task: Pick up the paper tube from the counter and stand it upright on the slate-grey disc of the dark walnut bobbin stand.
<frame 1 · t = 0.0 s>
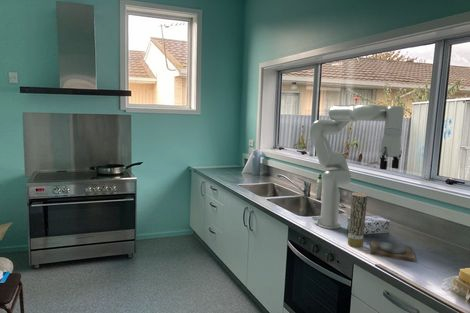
hand: (389, 168, 172), 37 cm above the worktop, tool pointing down, fingers open, 9 cm apart
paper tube: (354, 245, 173), on the worktop
bobbin stand: (391, 252, 166), on the worktop
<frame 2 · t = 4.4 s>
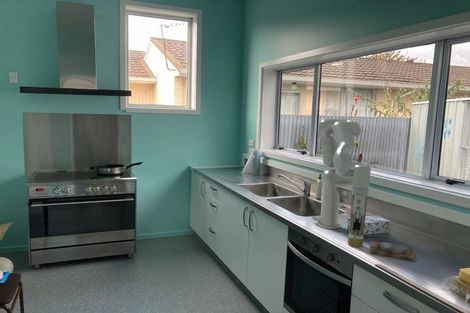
hand: (356, 227, 172), 9 cm above the worktop, tool pointing down, fingers closed on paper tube, 6 cm apart
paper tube: (354, 245, 173), on the worktop, touching gripper
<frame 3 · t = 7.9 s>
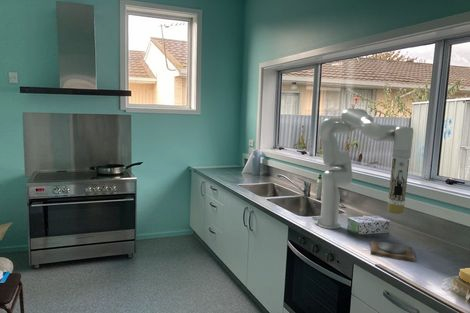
hand: (397, 193, 163), 28 cm above the worktop, tool pointing down, fingers closed on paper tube, 6 cm apart
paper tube: (395, 212, 164), point 19 cm above the worktop, touching gripper
when the fingers open (12 cm above the worktop, at t = 11.8 s): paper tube stays where it is, resting on bobbin stand.
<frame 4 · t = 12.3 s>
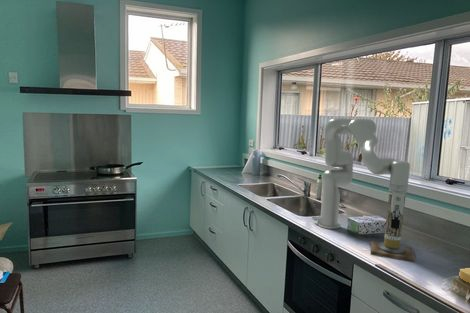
hand: (394, 225, 165), 13 cm above the worktop, tool pointing down, fingers open, 9 cm apart
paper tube: (391, 247, 166), point 2 cm above the worktop, touching bobbin stand
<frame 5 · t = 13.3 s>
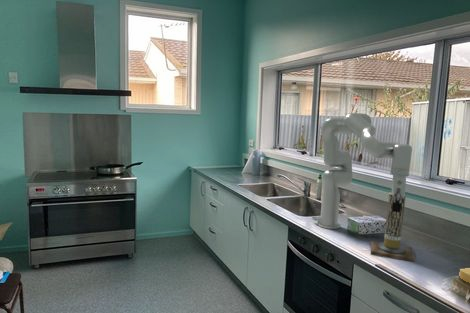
hand: (395, 208, 164), 20 cm above the worktop, tool pointing down, fingers open, 9 cm apart
nothing on the worktop moved.
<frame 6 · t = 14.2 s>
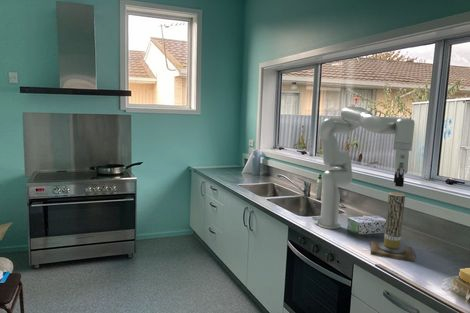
hand: (398, 184, 163), 32 cm above the worktop, tool pointing down, fingers open, 9 cm apart
nothing on the worktop moved.
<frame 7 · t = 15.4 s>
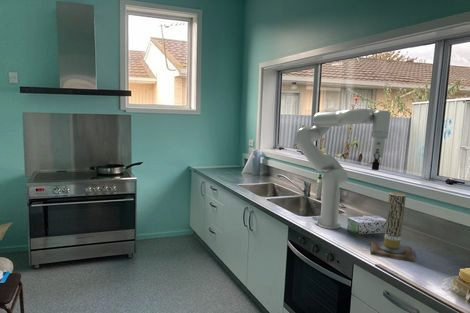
hand: (375, 168, 184), 35 cm above the worktop, tool pointing down, fingers open, 9 cm apart
nothing on the worktop moved.
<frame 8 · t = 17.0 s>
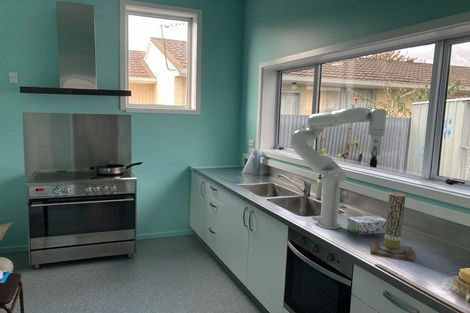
hand: (373, 166, 187), 36 cm above the worktop, tool pointing down, fingers open, 9 cm apart
nothing on the worktop moved.
at the end: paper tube 0.3 cm off-centre on the bobbin stand, point 2.3 cm above the bobbin stand's base; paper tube tilted 0°; the gripper is holding nothing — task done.
